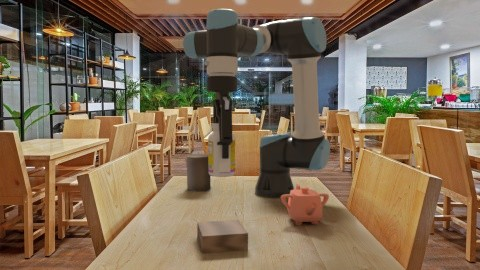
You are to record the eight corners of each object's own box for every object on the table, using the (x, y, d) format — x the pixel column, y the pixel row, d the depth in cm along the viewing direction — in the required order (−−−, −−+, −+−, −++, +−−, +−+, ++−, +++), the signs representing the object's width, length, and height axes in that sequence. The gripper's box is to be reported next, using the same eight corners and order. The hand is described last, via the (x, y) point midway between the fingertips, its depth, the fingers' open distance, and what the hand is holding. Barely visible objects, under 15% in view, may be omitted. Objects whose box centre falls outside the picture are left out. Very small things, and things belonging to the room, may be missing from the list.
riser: (238, 234, 106) (238, 219, 106) (248, 249, 96) (248, 233, 95) (197, 237, 104) (197, 222, 104) (202, 252, 93) (202, 236, 93)
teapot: (335, 221, 118) (336, 188, 117) (313, 231, 109) (314, 195, 109) (296, 212, 128) (297, 181, 127) (273, 220, 119) (273, 187, 118)
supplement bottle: (239, 174, 100) (239, 123, 99) (227, 178, 94) (227, 124, 93) (216, 171, 103) (216, 122, 102) (203, 176, 97) (203, 123, 96)
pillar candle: (215, 188, 163) (215, 151, 162) (200, 192, 155) (200, 154, 154) (196, 185, 168) (196, 150, 167) (181, 189, 160) (181, 152, 159)
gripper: (201, 77, 105) (201, 163, 107) (212, 72, 86) (212, 177, 88) (229, 78, 107) (229, 162, 109) (246, 73, 88) (245, 176, 89)
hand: (221, 169), depth 98 cm, fingers closed on supplement bottle, 7 cm apart
